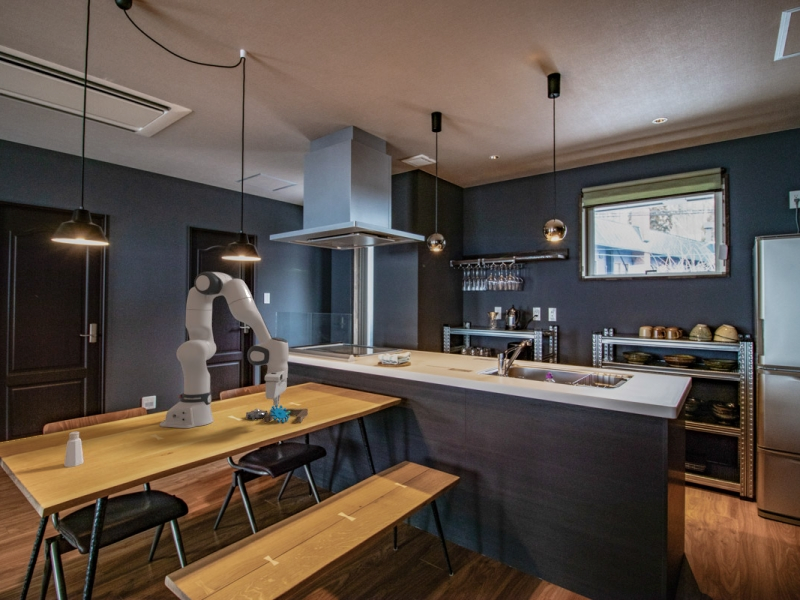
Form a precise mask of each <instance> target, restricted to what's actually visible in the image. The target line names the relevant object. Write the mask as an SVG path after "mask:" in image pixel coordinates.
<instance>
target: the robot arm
mask: <svg viewBox="0 0 800 600" xmlns="http://www.w3.org/2000/svg"><path fill="white" fill-rule="evenodd" d="M193 282H194V284H193V285H194V286H193V287H191V288H190V289H189V291H188V295H187V300H186V306H185V307H186V308H185V325H184V326H185V329H187V332H188V337H189V340H187V341H184V342H183V343H181V345H179V346H178V348H177V350H176V353H175V354H176V358H177V360H178V362H179V363H180V366H181V369H182V374H183V375H182V376H183V393H181V394H179V395H178V399H180V400H179V401H178V402H177V403H176V404H174V405H173V406H171V408H169V409H168V410H167V412H166V415H165V418H164V420H162V421H161V422H160V423H159V427H161V428H175V429H176V428H179V429H190V428H194V427H200V426H205V425H210V424H211V423H214V422H215V421H214V417H213V413H212V405H211V404H212V391H211V374H210V372H209V370H208V367H207V360H210V359H211V358H212V357H213V356H214V355H215V353H216V352H217V345H216V343H215V341H214V334H213V327H212V325H213V324H212V323H213V320H212V319H213V302H214V299H215V298H216V297H217V299H218V298H223V297H224V298H225V300H226V303H227V304H228V305H227V306H228V308H229V311H230V313H231V314H232V316H233V318H234V319H235V320H237V321H239V322H241V323H244V324H245V325H247V326H248V327H250V328H251V329H252V330H253V332H254V335H255V337H256V339H257V341H258V343H257V344H254V345H252V346H250V348H249V349H248V350H247V355H246V356H247V360H248V362H249V363H250V365H253V366H260V367H261V366H264V365H267V370H266V373H265V375H264V381H265V388H264V389H265V390H264V391H265V398H266V399H267V400H273V401H272V402H273V404H272V406H275V405H278V406H279V404H280V398H281V394H283V393H284V392H285V391H286V390H287V385H288V382H287V381H288V379H287V378H289V377H288V374H289V373H288V372H289V364H288V361H289V350H290V349H289V343H288V341H287V340H286V339H285V338H282V337H275V336H274V337H272V334H271V332H270V330H269V328H268V326H267V323H266V322H265V320H264V318H263V316H262V315H261V313H260V312H259V309H258V307H257V305H256V302H255V301H254V298H253V295H252V294H251V293H252V292H251V291H250V289H249V287H248V285H247V284H246V283H245V281H244V280H243V279H241V278H235V276H234V277H233V275H231V274H230V273H229V274H228V273H224V272H219V271H203V272H200V273H199V274H198V275H196V277H195V279H194V281H193Z"/></svg>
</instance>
